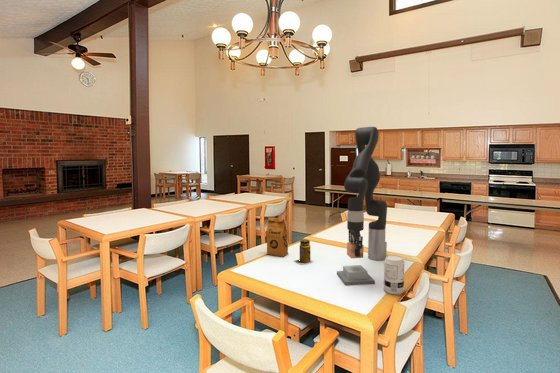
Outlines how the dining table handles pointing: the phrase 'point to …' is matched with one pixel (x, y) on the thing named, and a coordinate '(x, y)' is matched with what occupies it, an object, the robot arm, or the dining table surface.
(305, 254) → the condiment
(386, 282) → the supplement can
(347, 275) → the base
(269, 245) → the coffee package
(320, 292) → the dining table surface
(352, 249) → the cube
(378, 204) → the robot arm
